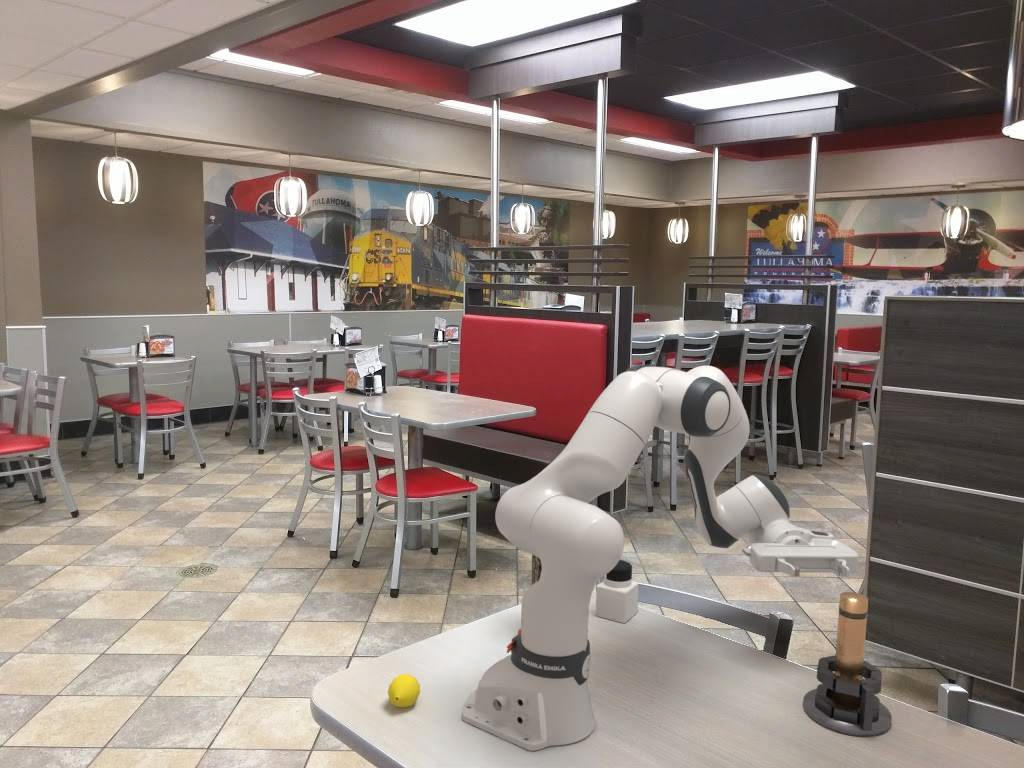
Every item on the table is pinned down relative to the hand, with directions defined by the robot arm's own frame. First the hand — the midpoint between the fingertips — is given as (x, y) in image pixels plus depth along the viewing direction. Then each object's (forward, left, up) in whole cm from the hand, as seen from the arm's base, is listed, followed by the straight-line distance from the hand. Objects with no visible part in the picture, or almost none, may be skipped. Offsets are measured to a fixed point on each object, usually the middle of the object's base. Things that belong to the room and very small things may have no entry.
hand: (820, 572), depth 144 cm
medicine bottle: (-42, +10, -21) cm, 48 cm away
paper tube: (-52, -6, -21) cm, 56 cm away
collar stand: (+6, -10, -21) cm, 24 cm away
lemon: (-63, -43, -21) cm, 79 cm away
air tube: (+6, -10, -20) cm, 23 cm away
